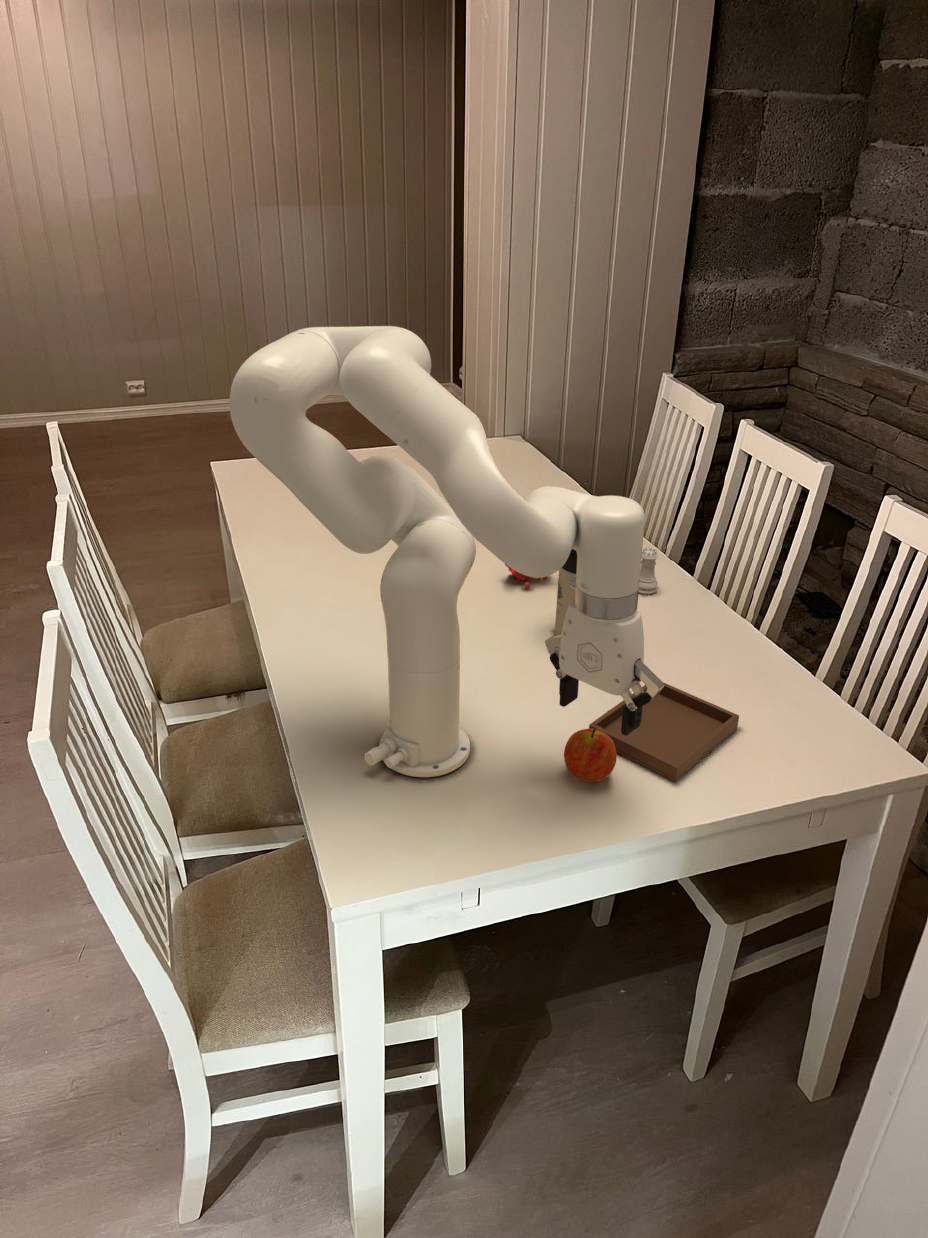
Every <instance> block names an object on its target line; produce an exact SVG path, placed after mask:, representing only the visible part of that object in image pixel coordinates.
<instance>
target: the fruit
mask: <svg viewBox="0 0 928 1238" xmlns="http://www.w3.org/2000/svg"><path fill="white" fill-rule="evenodd" d="M617 758H618V753H616V748H615V745H614V742H613V740H612V739H611V738H610V737H609V736H608V735H607V734H606V733H604V732H602V731H600V730H598V729H593V728H589V727H588V728H583V729H580V730H577V731H575V732H574V733H573V734H571V735H570V737H569V738H568V739H567V741H566V743H565V745H564V750H563V761H564V764H565V768H566V769H567V770H568V772H569V773H570V774H571V775H572V777H574V778H576V779H577V780H580V781H583V782H588V783H596V782H600V781H603V780H604V779H606V778H607V777H609V776H610V775H611V774H612V772H613V771H614V769H615V767H616V765H617Z"/></svg>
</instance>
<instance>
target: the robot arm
mask: <svg viewBox="0 0 928 1238" xmlns="http://www.w3.org/2000/svg"><path fill="white" fill-rule="evenodd" d="M431 357H432V356H431V354H430V351H429V349H428V347H427V345H426V343H425V342H424V341H423V339H422V338H421V337H419V336H418V335H417V334H416V333H414V332H413V331H411V330H409V329H406V328H404V327H400V326H394V325H372V326H371V325H369V326H368V325H367V326H366V325H365V326H311V327H304V328H299V329H298V330H294V331H292V332H290V333H288V334H286V335H284V336H283V337H280V338H279V339H277V340H275V341H273V342H271V343H269V344H266V345H265V346H263V347H261V348H260V349H258V350H257V351H255V352H253V353H252V354H251V355H250V356H249V357H248V358H247V359H246V360H245V361H244V362H243V363H242V364H241V366H240V367H239V368H238V370H237V372H236V373H235V375H234V377H233V379H232V383H231V386H230V392H229V413H230V419H231V422H232V425H233V428H234V430H235V433H236V435H237V436H238V439H239V440H240V441H241V443H242V444H243V446H244V447H245V448H246V450H247V451H248V452H249V453H250V454H251V455H252V456H253V457H254V458H255V459H256V460H257V461H258V462H259V463H260V464H261V465H262V466H263V467H264V468H266V469H267V470H268V471H269V472H270V473H271V474H272V475H273V476H275V477H276V478H277V479H278V480H279V481H280V482H281V483H282V484H283V485H284V486H285V488H287V489H288V490H289V491H290V492H291V493H292V494H293V495H294V497H296V499H297V500H298V501H299V502H300V503H301V504H302V505H303V506H304V507H305V508H306V509H307V510H308V511H309V512H310V514H312V515H313V516H314V517H315V519H317V521H318V522H320V523H321V524H322V526H323V527H324V528H325V529H326V530H327V531H328V532H329V533H330V534H331V535H333V537H334V538H335V539H336V540H337V541H338V542H340V543H341V545H343V546H344V547H346V548H347V549H348V550H350V551H352V552H354V553H356V554H362V555H368V554H370V555H371V554H373V553H375V552H378V551H380V550H382V549H383V548H384V547H385V546H386V545H388V543H390V541H393V543H394V544H396V546H397V547H396V549H395V550H394V551H393V553H392V554H391V556H390V557H389V559H388V561H387V562H386V564H385V567H384V569H383V571H382V575H381V578H380V585H379V591H380V601H381V607H382V612H383V616H384V622H385V631H386V632H385V633H386V654H387V675H388V677H387V678H388V679H387V681H388V708H389V709H388V710H389V727H388V728H386V729H384V733H383V735H381V737H380V740H379V745H378V746H375V747H373V748H371V749H369V750H368V751H366V752H365V753H364V754H363V759H364V761H365V763H366V764H367V765H369V767H370V766H371V767H372V766H374V765H376V764H377V763H379V762H380V761H383V763H384V764H385V766H386V767H387V768H389V769H391V770H392V771H394V772H397V773H398V774H402V775H405V776H408V777H413V778H414V777H415V778H433V777H440V776H443V775H446V774H450V773H451V772H453V771H456V770H457V769H458V768H460V767H461V766H463V764H465V763H466V761H467V760H468V758H469V756H470V753H471V741H470V738H469V736H468V734H467V733H466V731H465V730H464V729H463V728H462V727H460V689H461V687H460V684H461V681H460V680H461V632H460V621H459V617H458V598H459V594H460V591H461V589H462V587H463V585H464V583H465V581H466V579H467V577H468V575H469V573H470V572H471V570H472V568H473V565H474V563H475V560H476V555H477V545H476V541H477V542H478V543H480V545H482V546H483V547H484V548H485V549H487V550H488V551H489V552H490V553H491V554H493V555H494V556H495V557H496V558H497V559H498V560H500V562H502V563H503V564H504V563H505V564H506V565H507V566H509V567H510V568H512V569H513V570H515V571H517V572H519V573H521V574H523V575H526V576H530V578H538V577H542V578H543V577H546V576H548V577H549V576H552V575H553V574H555V573H557V572H559V569H561V568H562V566H563V565H564V564H565V563H566V561H567V559H568V557H569V555H570V552H571V549H574V550H576V552H577V572H576V578H575V577H572V578H571V579H570V582H569V586H570V587H571V588H574V590H575V599H573V600H571V601H570V603H569V606H568V609H567V613H566V616H565V620H564V624H563V630H562V635H557V636H556V635H552V636H550V637H548V638H546V639H545V640H544V644H545V647H546V650H547V653H548V654H549V660H550V663H551V664H552V666H553V667H554V669H555V670H556V671H555V676H556V678H557V679H559V691H558V694H559V703H558V704H559V706H560V707H564V708H565V707H567V706H568V705H569V704H572V702H574V701H576V700H577V699H578V698H579V685H580V684H579V682H582V683H584V684H586V685H589V686H592V687H594V688H595V689H598V690H601V691H603V692H605V693H608V694H610V695H613V696H621V698H622V701H623V700H624V702H625V703H626V705H627V706H626V707H624V708H623V713H622V726H621V733H622V734H623V735H625V736H627V735H628V734H629V733H631V732H632V731H633V730H635V729H637V728H638V727H639V726H640V724H641V719H642V708H643V705H645V704H647V703H649V702H650V701H651V700H653V699H654V698H655V697H656V696H657V695H658V694H659V692H660V691H661V690H662V689H663V687H664V683H665V682H664V681H662V680H661V678H659V677H658V676H657V675H656V674H655V673H654V672H653V671H652V669H650V668H649V667H648V666H647V665H646V664H645V636H644V624H643V618H642V614H641V611H640V610H638V604H639V594H640V593H639V582H640V570H641V561H642V552H643V546H644V534H645V520H646V519H645V510H644V508H643V507H642V505H641V504H640V503H638V502H637V501H636V500H634V499H632V498H630V497H626V496H621V495H600V496H597V495H592V494H589V493H584V492H579V491H576V490H572V489H568V488H565V487H561V486H553V485H546V486H540V487H538V488H535V489H534V490H531V492H529V493H528V494H527V495H526V496H525V498H524V497H522V496H521V495H520V494H519V493H518V492H517V491H516V490H515V489H514V488H513V486H512V485H510V484H509V482H508V481H507V480H506V479H505V477H504V476H503V475H502V473H501V471H500V470H499V468H498V467H497V465H496V463H495V460H494V458H493V456H492V453H491V450H490V447H489V441H488V438H487V434H486V431H485V428H484V425H483V423H482V422H481V420H480V418H479V417H478V415H477V414H476V413H475V412H473V411H472V410H471V409H470V408H468V406H466V405H465V404H464V403H463V402H462V401H461V400H459V399H458V398H457V397H455V395H453V394H452V393H451V392H450V391H449V390H448V389H446V387H444V386H443V385H442V384H441V383H439V381H438V380H436V379H435V378H434V377H433V376H432V375H431V371H432V358H431ZM327 396H344V397H345V399H346V400H347V401H348V403H349V404H350V405H351V406H352V407H353V408H354V409H355V410H356V411H357V412H358V413H360V414H361V415H362V416H363V417H364V418H366V419H367V420H368V421H369V422H370V423H371V424H373V425H374V426H375V427H376V428H377V429H378V430H380V431H381V432H382V433H383V434H384V435H386V437H388V439H390V440H391V441H392V442H394V443H395V445H397V446H398V447H400V448H401V449H402V450H403V451H404V452H405V453H406V454H408V455H409V456H410V457H411V458H412V459H413V460H414V461H416V462H417V463H418V464H419V465H420V466H421V467H422V468H424V470H426V471H427V472H428V473H429V474H430V475H431V477H432V478H433V480H434V481H435V483H436V485H437V487H438V489H439V491H440V492H441V494H442V496H443V497H444V499H445V500H446V501H447V502H446V501H445V500H444V499H443V498H442V497H441V496H440V495H439V494H438V492H437V491H436V490H435V489H434V488H433V487H432V486H431V485H430V484H429V483H428V482H427V480H425V478H424V477H422V475H420V474H419V472H417V470H415V469H414V468H413V467H412V466H410V464H408V463H406V462H404V461H403V460H401V459H399V458H397V457H394V456H390V455H385V454H384V455H383V454H382V455H381V454H379V455H373V456H369V457H367V458H365V459H363V460H361V461H359V460H358V459H357V458H356V457H355V456H353V454H352V453H350V452H349V450H348V449H347V448H346V447H345V446H344V444H342V442H341V441H340V440H339V439H337V438H336V437H335V436H334V435H333V434H331V432H329V431H327V430H326V429H324V428H322V427H320V426H318V425H317V424H315V423H313V422H312V421H311V420H310V419H309V418H308V417H307V412H308V411H307V410H308V409H309V408H311V407H312V406H314V405H315V404H317V403H318V402H320V400H322V399H323V398H325V397H327ZM475 540H476V541H475ZM505 564H504V565H505ZM506 565H505V566H506ZM641 682H642V683H643V684H644V685H646V686H647V690H646V691H645V692H644V690H643V688H642V687H643V686H642V684H641ZM663 682H664V683H663ZM630 689H631V690H632V692H633V693H634V694H635V696H636V697H633V696H632V694H633V693H632V692H631V690H630Z"/></svg>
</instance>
